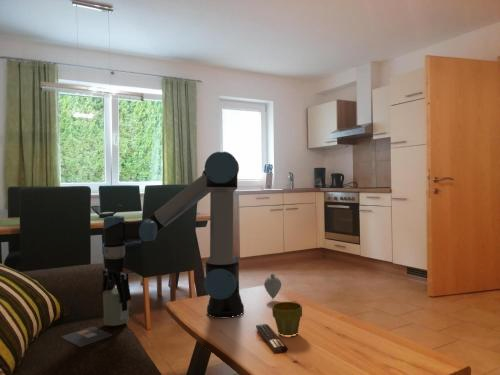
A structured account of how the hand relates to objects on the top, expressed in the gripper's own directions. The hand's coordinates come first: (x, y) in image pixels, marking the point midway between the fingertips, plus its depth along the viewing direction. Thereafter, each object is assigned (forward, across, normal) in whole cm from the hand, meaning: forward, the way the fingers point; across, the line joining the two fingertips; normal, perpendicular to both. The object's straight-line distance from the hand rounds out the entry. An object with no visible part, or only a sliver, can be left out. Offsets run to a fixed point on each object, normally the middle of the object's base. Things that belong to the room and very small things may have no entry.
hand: (116, 316), depth 142 cm
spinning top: (+4, +31, +59) cm, 67 cm away
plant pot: (+4, +57, +31) cm, 65 cm away
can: (+2, 0, 0) cm, 2 cm away
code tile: (+3, +1, -12) cm, 12 cm away
